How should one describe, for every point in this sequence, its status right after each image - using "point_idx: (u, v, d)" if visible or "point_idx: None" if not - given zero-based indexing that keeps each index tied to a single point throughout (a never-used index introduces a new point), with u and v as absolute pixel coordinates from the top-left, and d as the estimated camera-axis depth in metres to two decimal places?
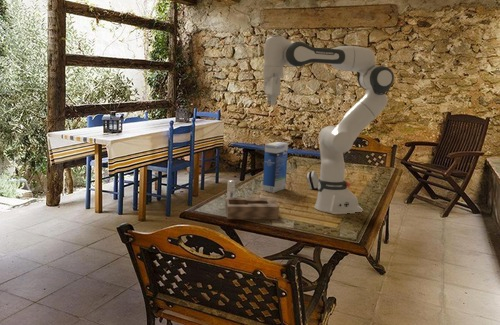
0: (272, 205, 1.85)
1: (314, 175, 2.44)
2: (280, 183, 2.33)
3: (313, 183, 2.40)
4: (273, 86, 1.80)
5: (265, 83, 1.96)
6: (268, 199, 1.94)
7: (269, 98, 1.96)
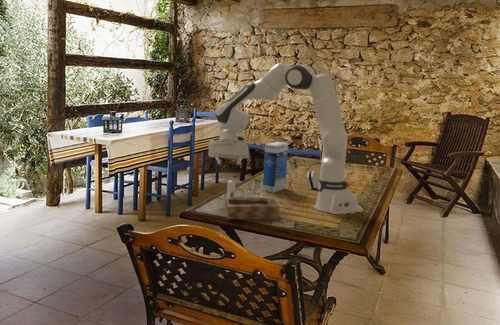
0: (272, 205, 1.85)
1: (314, 175, 2.45)
2: (280, 183, 2.33)
3: (313, 183, 2.40)
4: None
5: None
6: (268, 199, 1.94)
7: None
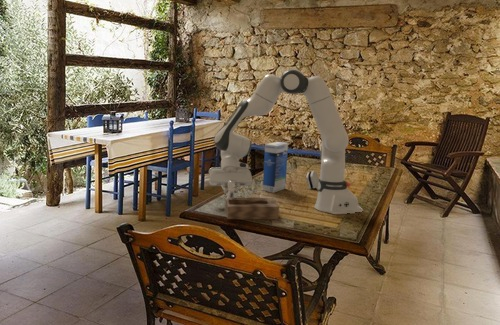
0: (272, 205, 1.85)
1: (314, 175, 2.45)
2: (280, 183, 2.33)
3: (312, 183, 2.40)
4: None
5: None
6: (268, 199, 1.94)
7: (237, 187, 2.02)
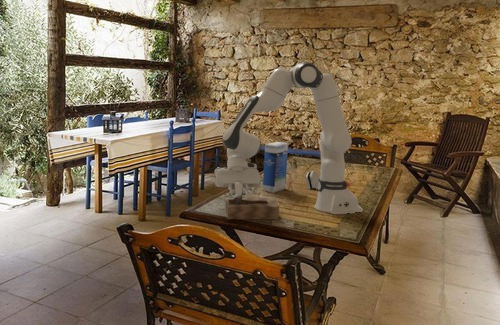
0: (272, 205, 1.85)
1: (313, 175, 2.45)
2: (280, 183, 2.33)
3: (311, 183, 2.41)
4: None
5: None
6: (268, 199, 1.94)
7: (245, 189, 1.89)
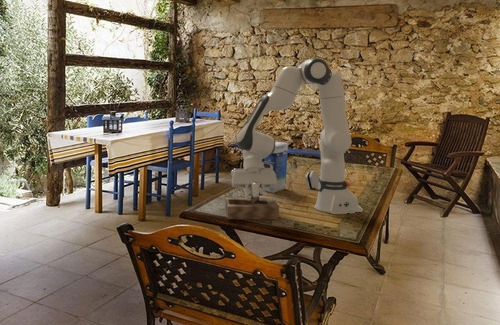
0: (272, 205, 1.85)
1: (313, 175, 2.45)
2: (280, 183, 2.33)
3: (311, 183, 2.41)
4: None
5: None
6: (268, 199, 1.94)
7: None
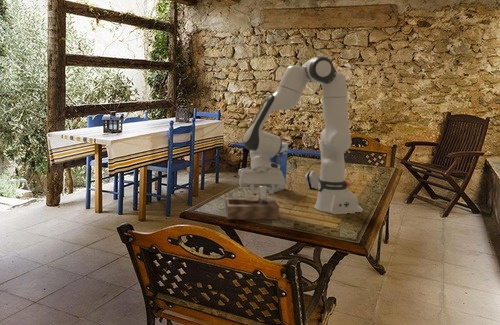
0: (272, 205, 1.85)
1: (313, 175, 2.45)
2: None
3: (311, 183, 2.41)
4: (239, 180, 1.92)
5: None
6: (268, 199, 1.94)
7: None
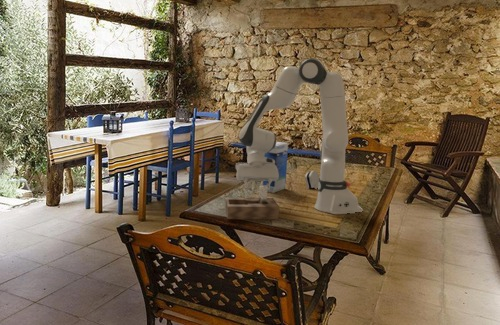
0: (272, 205, 1.85)
1: (313, 175, 2.45)
2: (280, 183, 2.33)
3: (310, 182, 2.41)
4: None
5: None
6: (268, 199, 1.94)
7: (269, 182, 2.03)
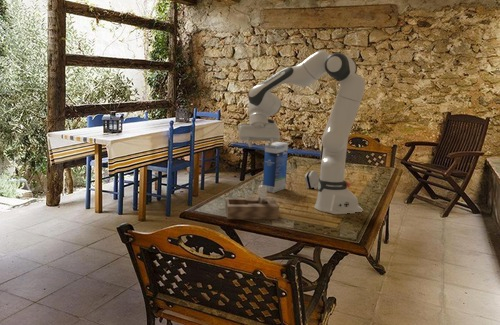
0: (272, 205, 1.85)
1: (313, 175, 2.45)
2: (280, 183, 2.33)
3: (310, 182, 2.41)
4: None
5: None
6: (268, 199, 1.94)
7: None
